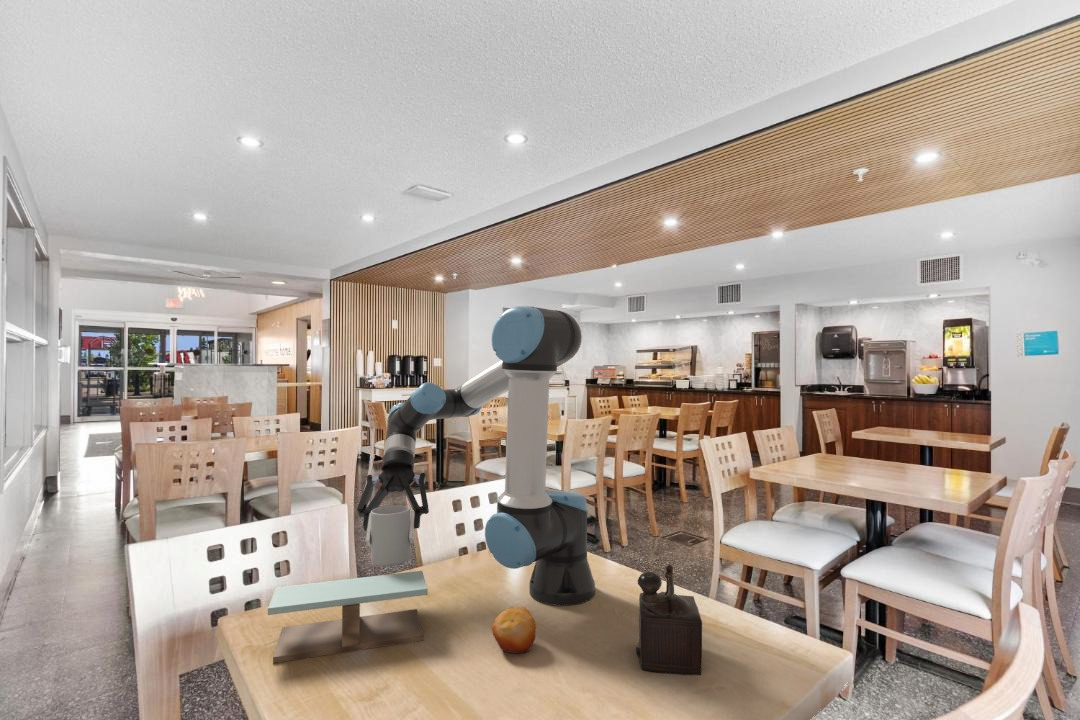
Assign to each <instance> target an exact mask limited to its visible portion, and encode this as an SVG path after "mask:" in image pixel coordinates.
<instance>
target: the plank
mask: <svg viewBox="0 0 1080 720" xmlns="http://www.w3.org/2000/svg"><path fill="white" fill-rule="evenodd" d="M428 590H429V589H428V586H427V583H426V577H425V575H424V572H423V570H416V571H408V572H400V573H391V574H390V573H389V574H382V575H381V574H380V575H372V576H363V577H355V578H346V579H337V580H329V581H318V582H311V583H303V584H294V585H284V586H283V585H282V586H276V587H275V589H274V591H273V595H272V596H271V600H270V602H269V604H268V607H267V615H268V616H271V615H272V616H273V615H281V614H286V613H295V612H303V611H304V612H305V611H311V610H319V609H325V608H327V609H328V608H337V607H342V606H344V605H352V604H367V603H374V602H383V601H391V600H398V599H405V598H414V597H421V596H428V593H429V592H428Z"/></svg>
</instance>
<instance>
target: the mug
mask: <svg viewBox="0 0 1080 720" xmlns="http://www.w3.org/2000/svg"><path fill="white" fill-rule="evenodd" d="M410 520H411V508H410V507H409V506H407V505H399V504H396V505H394V504H393V505H385V506H379V507H378V508H375V509H373V510H372V511H371V546H370V550H371V551H370V561H371V563H372V564H373V565H375V566H378V567H393V566H399V565H402V564H404V563H407V562H408V561H410V560H411V558H412V546H411V545H412V544H410V540H409V532H410Z"/></svg>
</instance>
